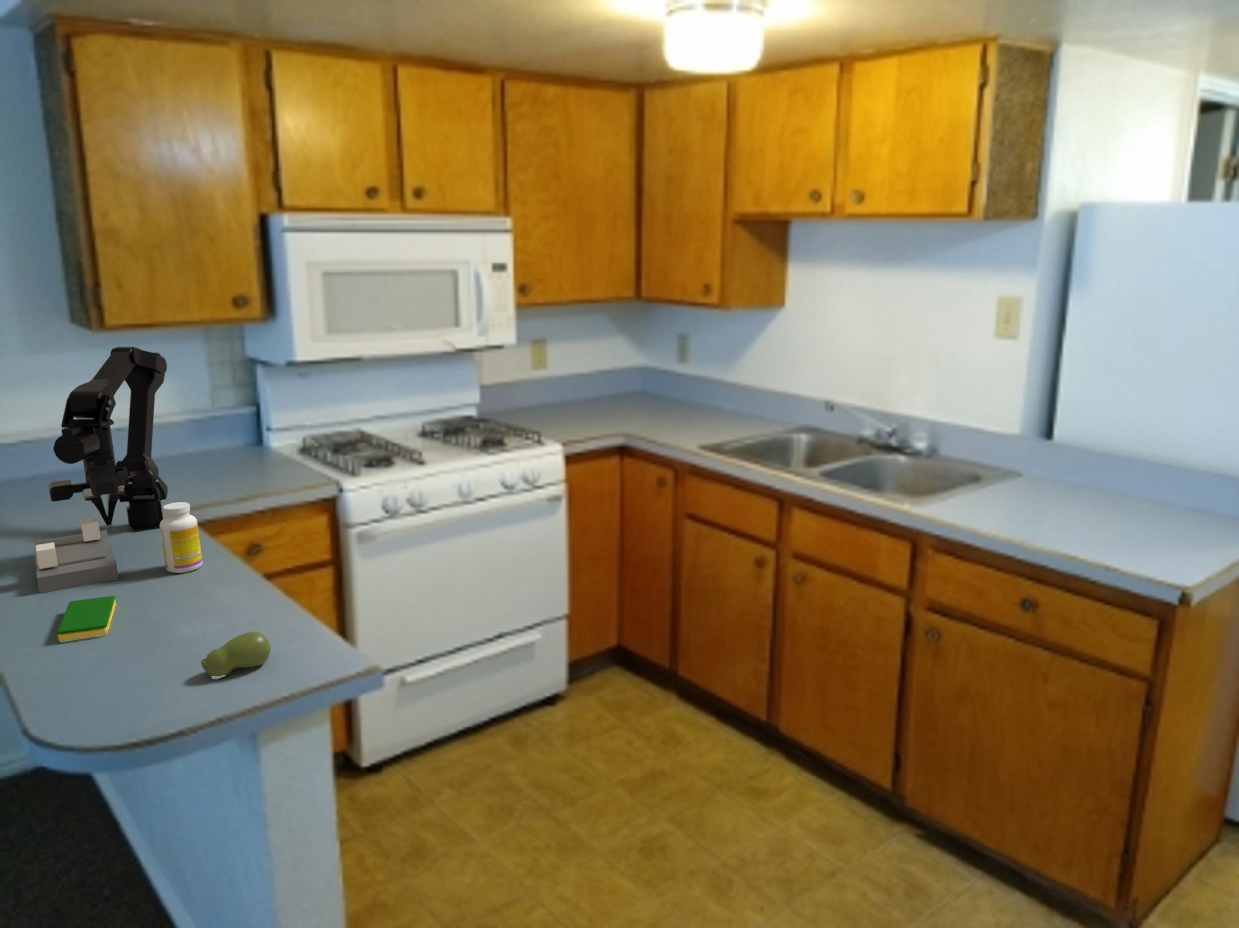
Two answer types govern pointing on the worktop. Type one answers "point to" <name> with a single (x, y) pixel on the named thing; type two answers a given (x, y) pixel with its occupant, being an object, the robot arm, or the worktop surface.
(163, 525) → the supplement bottle
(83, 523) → the cream matte cube
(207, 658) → the pear
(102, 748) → the worktop surface
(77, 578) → the grey slider switch panel
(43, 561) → the on handle
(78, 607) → the dish sponge
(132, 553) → the worktop surface
